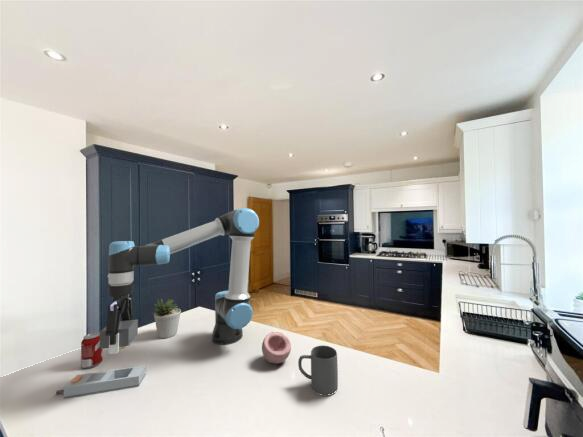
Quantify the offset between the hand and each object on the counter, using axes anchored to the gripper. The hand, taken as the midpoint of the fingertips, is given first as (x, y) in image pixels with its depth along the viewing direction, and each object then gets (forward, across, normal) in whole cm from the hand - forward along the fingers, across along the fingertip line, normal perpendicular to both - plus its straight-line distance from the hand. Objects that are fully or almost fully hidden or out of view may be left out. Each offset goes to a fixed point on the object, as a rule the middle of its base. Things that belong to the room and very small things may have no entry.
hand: (119, 346), depth 85 cm
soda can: (+14, -17, -17) cm, 27 cm away
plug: (0, 0, 0) cm, 0 cm away
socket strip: (+13, 0, -6) cm, 14 cm away
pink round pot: (+13, +2, +57) cm, 59 cm away
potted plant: (+13, -38, +6) cm, 41 cm away
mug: (+13, +21, +68) cm, 73 cm away
